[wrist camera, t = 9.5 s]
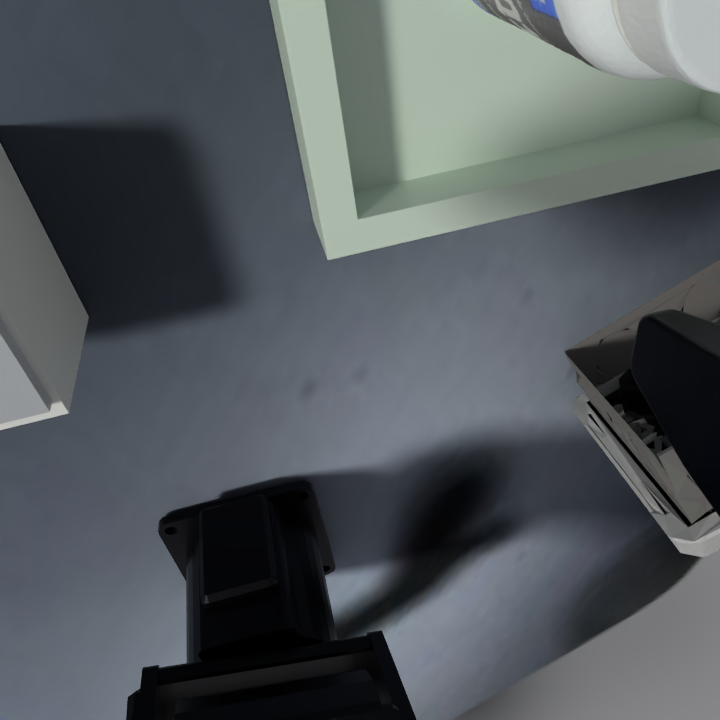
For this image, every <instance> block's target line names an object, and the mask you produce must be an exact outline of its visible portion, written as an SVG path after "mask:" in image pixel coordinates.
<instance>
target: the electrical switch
mask: <svg viewBox="0 0 720 720" xmlns="http://www.w3.org/2000/svg"><path fill="white" fill-rule="evenodd" d="M693 285H694V286H693ZM692 286H693V287H692ZM683 305H684V308H683ZM682 308H683V312H684V313H687V314H690V315H693V316H696V317H699V318H702V319H705V320H708V321H711V322H714V323H717V324H719V325H720V259H719V260H718V261H716V262H714V263H713V264H711V265H709V266H708V267H706V268H704V269H703V270H701V271H699V272H698V273H696V274H694V275H693V276H691V277H689V278H688V279H686V280H684V281H682V282H681V283H679V284H677V285H676V286H674V287H672V288H671V289H669V290H667V291H666V292H664V293H662V294H661V295H659V296H657V297H656V298H654V299H652V300H651V301H649V302H647V303H646V304H644V305H642V306H640V307H639V308H637V309H635V310H634V311H632V312H630V313H629V314H627V315H625V316H624V317H622V318H620V319H619V320H617V321H615V322H614V323H612V324H610V325H609V326H607V327H605V328H604V329H602V330H600V331H598V332H597V333H595V334H593V335H592V336H590V337H588V338H587V339H585V340H583V341H582V342H580V343H578V344H577V345H575V346H573V347H572V348H570V349H568V350H567V351H566V354H567V355H566V356H567V358H568V359H569V361H570V363H571V364H572V366H573V368H574V369H575V371H576V373H577V383H578V384H579V385H581V386H582V388H583V390H584V392H585V393H584V394H582V395H580V396H578V397H577V398H576V401H575V404H574V406H573V411H574V413H575V414H576V415H577V417H578V418H579V419H580V421H581V422H582V423H583V425H584V426H585V427H586V429H587V430H588V431H589V433H590V434H591V435H592V437H593V438H594V439H595V441H596V442H597V443H598V444H599V446H600V447H601V448H602V450H603V451H604V452H605V454H606V455H607V456H608V458H609V459H610V460H611V462H612V463H613V464H614V466H615V467H616V468H617V470H618V471H619V472H620V474H621V475H622V476H623V477H624V479H625V480H626V481H627V483H628V484H629V485H630V487H631V488H632V489H633V491H634V492H635V493H636V495H637V496H638V497H639V499H640V500H641V501H642V503H643V504H644V505H645V507H646V508H647V509H648V511H649V512H650V513H651V514H652V516H653V517H654V518H655V520H656V521H657V522H658V524H659V525H660V526H661V528H662V529H663V530H664V532H665V533H666V534H667V536H668V537H669V538H670V540H671V541H672V542H673V544H674V545H675V546H676V547H677V549H678V550H679V551H680V553H684V554H689V555H695V556H700V557H706V556H708V555H710V554H712V553H714V552H716V551H718V550H720V517H719V516H718V514H717V513H716V511H715V510H714V509H713V507H712V506H711V504H710V503H709V502H708V500H707V499H706V497H705V496H704V495H703V493H702V492H701V490H700V489H699V488H698V486H697V485H696V483H695V482H694V481H693V479H692V478H691V476H690V475H689V473H688V472H687V470H686V469H685V467H684V466H683V464H682V462H681V461H680V459H679V457H678V456H677V454H676V452H675V451H674V449H673V447H672V445H671V444H670V442H669V440H668V438H667V436H666V435H665V433H664V431H663V429H662V427H661V426H660V424H659V422H658V420H657V418H656V417H655V415H654V413H653V411H652V409H651V408H650V406H649V404H648V402H647V401H646V399H645V397H644V395H643V393H642V392H641V390H640V388H639V386H638V384H637V383H636V381H635V379H634V377H633V374H632V370H631V357H632V352H633V347H634V343H635V338H636V333H637V328H638V324H639V321H640V319H641V318H642V317H643V316H644V315H646V314H649V313H653V312H657V311H662V310H666V309H675V310H679V311H681V310H682ZM626 328H628V329H630V330H624V329H626ZM622 330H623V331H622ZM603 338H605V339H604V340H603V342H602V343H601V341H602V339H603ZM600 343H601V344H600ZM564 353H565V352H564ZM597 365H598V367H599V368H600V369H598V368H597ZM612 376H613V377H612ZM598 382H600V383H601V384H599V385H598V386H597V384H598Z"/></svg>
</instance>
